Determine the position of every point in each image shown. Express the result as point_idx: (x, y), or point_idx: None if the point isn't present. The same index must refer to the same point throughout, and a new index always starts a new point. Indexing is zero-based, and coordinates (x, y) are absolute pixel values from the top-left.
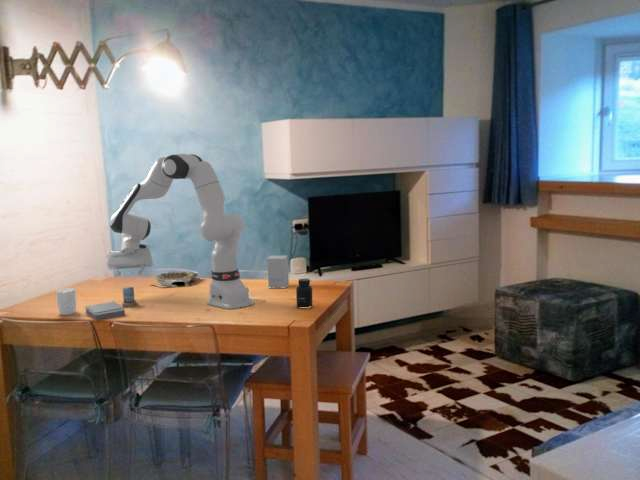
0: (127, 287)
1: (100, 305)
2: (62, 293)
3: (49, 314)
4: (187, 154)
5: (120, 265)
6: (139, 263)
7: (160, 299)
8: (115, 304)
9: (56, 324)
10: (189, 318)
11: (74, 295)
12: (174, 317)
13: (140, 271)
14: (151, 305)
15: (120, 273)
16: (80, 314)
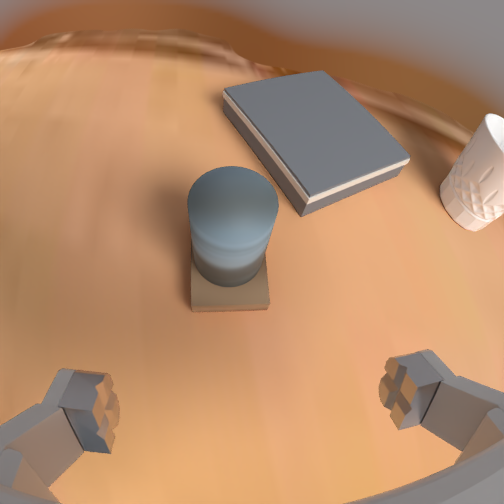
0: (242, 223)
1: (350, 144)
2: (497, 119)
3: None
4: None
5: (486, 448)
6: (20, 496)
7: (49, 344)
8: (280, 136)
9: (412, 99)
10: (41, 69)
11: (475, 143)
12: (68, 74)
13: (71, 384)
14: (103, 218)
15: (396, 360)
16: (408, 166)
